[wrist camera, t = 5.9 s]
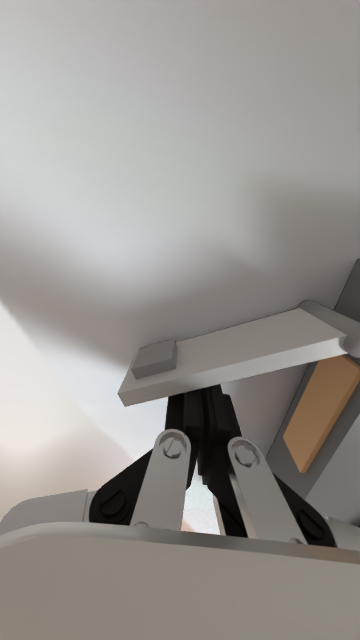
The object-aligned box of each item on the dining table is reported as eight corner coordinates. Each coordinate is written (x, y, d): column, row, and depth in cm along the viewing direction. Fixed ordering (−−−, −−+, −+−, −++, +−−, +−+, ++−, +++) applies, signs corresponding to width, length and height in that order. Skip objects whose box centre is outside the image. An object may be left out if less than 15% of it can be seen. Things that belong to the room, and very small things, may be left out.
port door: (319, 317, 11) (382, 353, 7) (142, 365, 12) (125, 413, 9) (316, 290, 10) (383, 314, 7) (132, 343, 12) (109, 386, 8)
